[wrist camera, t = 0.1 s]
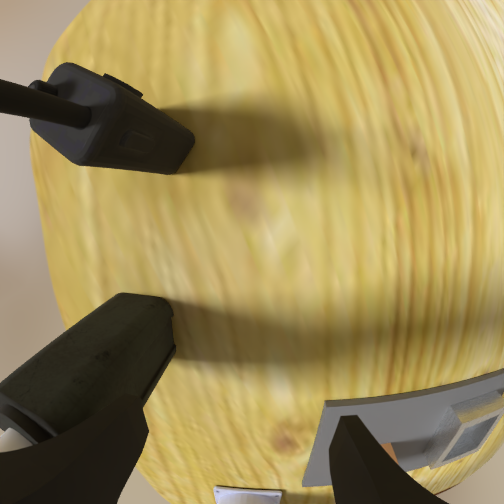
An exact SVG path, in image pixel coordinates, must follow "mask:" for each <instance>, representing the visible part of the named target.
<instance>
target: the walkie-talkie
mask: <svg viewBox="0 0 504 504" xmlns="http://www.w3.org/2000/svg"><path fill="white" fill-rule="evenodd" d="M142 96H143V94H142V93H141V92H139V91H138V90H136V89H134V88H133V87H131V86H129V85H128V84H126V83H124V82H122V81H120V80H119V79H117V78H115V77H113V76H110V75H108V74H106V73H105V74H104V75H103V76H100V75H98V74H96V73H94V72H92V71H90V70H88V69H86V68H83V67H81V66H79V65H77V64H74V63H68V62H66V63H63V64H61V65H59V66H58V67H57V68H56V69H55V70H54V71H53V73H52V74H51V76H50V77H49V79H48V81H47V83H46V82H44V81H41V80H35V81H33V82H32V83H31V84H30V85H29V86H28V87H26V86H22V85H19V84H16V83H12V82H9V81H5V80H1V79H0V113H5V114H11V115H17V116H22V117H27V118H30V120H29V121H30V126H31V128H32V129H33V131H34V132H36V133H37V134H38V135H39V136H40V137H41V138H43V139H44V140H45V141H46V142H47V143H49V144H50V145H51V146H52V147H54V148H55V149H56V150H57V151H58V152H60V153H61V154H62V155H63V156H65V157H66V158H67V159H68V160H70V161H71V162H72V163H74V164H77V165H79V166H91V167H103V168H113V169H123V170H133V171H141V172H150V173H158V174H165V175H171V174H173V173H175V172H176V171H177V170H178V168H179V167H180V165H181V164H182V162H183V160H184V159H185V157H186V156H187V154H188V153H189V151H190V150H191V148H192V147H193V145H194V143H195V137H194V135H193V133H192V132H191V131H189V130H188V129H186V128H185V127H184V126H182V125H181V124H179V123H178V122H176V121H175V120H173V119H172V118H170V117H169V116H167V115H166V114H164V113H163V112H161V111H160V110H158V109H157V108H155V107H154V106H152V105H151V104H149V103H147V102H146V101H144V100H143V99H141V97H142Z"/></svg>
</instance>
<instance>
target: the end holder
mask: <svg viewBox="0 0 504 504" xmlns="http://www.w3.org/2000/svg"><path fill="white" fill-rule="evenodd" d="M503 414H504V398H503V397H502V396H501V395H500V394H499V393H498V392H497V390H495V391H492V392H489V393H487V394H484V395H481V396H478V397H475V398H472V399H469V400H466V401H463V402H459V403H456V404H452V405H450V406H449V408H448V410H447V411H446V413H445V415H444V417H443V419H442V421H441V422H440V424H439V426H438V428H437V429H436V431H435V433H434V434H433V436H432V438H431V439H430V441H429V442H428V444H427V446H426V447H425V449H424V450H423V454H424V456H425V458H426V460H427V463H428V465H429V467H430V470H431V469H434V468H437V467H440V466H443V465H445V464H448V463H451V462H453V461H456V460H458V459H461V458H463V457H466V456H468V455H470V454H472V453H475V452H477V451H479V449H480V448H481V447H482V445H483V444H484V442H485V441H486V440H487V438H488V437H489V435H490V434H491V432H492V431H493V429H494V428H495V426H496V425H497V423H498V422H499V420H500V419H501V417H502V415H503ZM468 427H470V429H469V431H468V432H467V433H465V434H462V433H463V431H464V430H465V428H468ZM461 434H462V435H461Z"/></svg>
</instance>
